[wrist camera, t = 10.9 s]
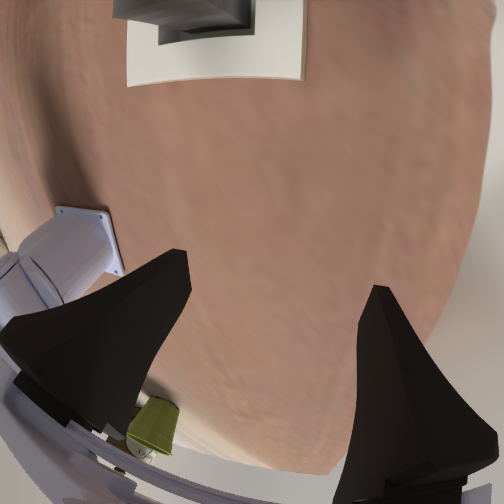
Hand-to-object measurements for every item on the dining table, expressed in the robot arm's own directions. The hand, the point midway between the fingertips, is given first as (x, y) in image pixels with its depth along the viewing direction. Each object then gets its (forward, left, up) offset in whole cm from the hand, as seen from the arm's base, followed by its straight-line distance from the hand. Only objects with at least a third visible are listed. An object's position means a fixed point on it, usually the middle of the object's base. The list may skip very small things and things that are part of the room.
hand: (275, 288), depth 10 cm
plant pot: (-22, -51, -11) cm, 57 cm away
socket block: (-6, +13, -10) cm, 18 cm away
